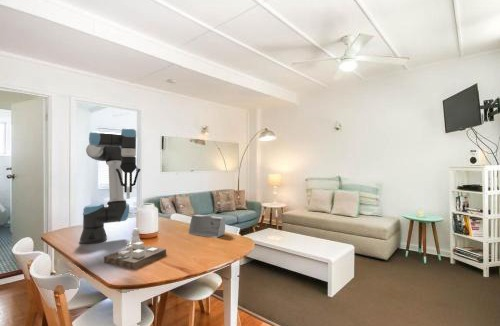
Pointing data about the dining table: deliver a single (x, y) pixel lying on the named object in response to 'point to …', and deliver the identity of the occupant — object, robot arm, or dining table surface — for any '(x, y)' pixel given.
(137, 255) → the button
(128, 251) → the button
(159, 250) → the board
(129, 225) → the dining table surface
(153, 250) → the button
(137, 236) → the seated beast figurine
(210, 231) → the grey rectangular block
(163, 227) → the dining table surface
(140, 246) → the button
